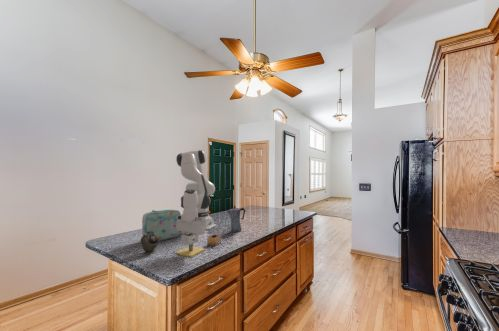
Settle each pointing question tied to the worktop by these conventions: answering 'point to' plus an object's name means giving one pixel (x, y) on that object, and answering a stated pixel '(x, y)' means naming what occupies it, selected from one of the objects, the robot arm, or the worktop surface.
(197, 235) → the robot arm
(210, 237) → the brown rounded piece
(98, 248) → the worktop surface
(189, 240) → the link
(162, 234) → the lunch box
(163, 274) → the worktop surface
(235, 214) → the moka pot
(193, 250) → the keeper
